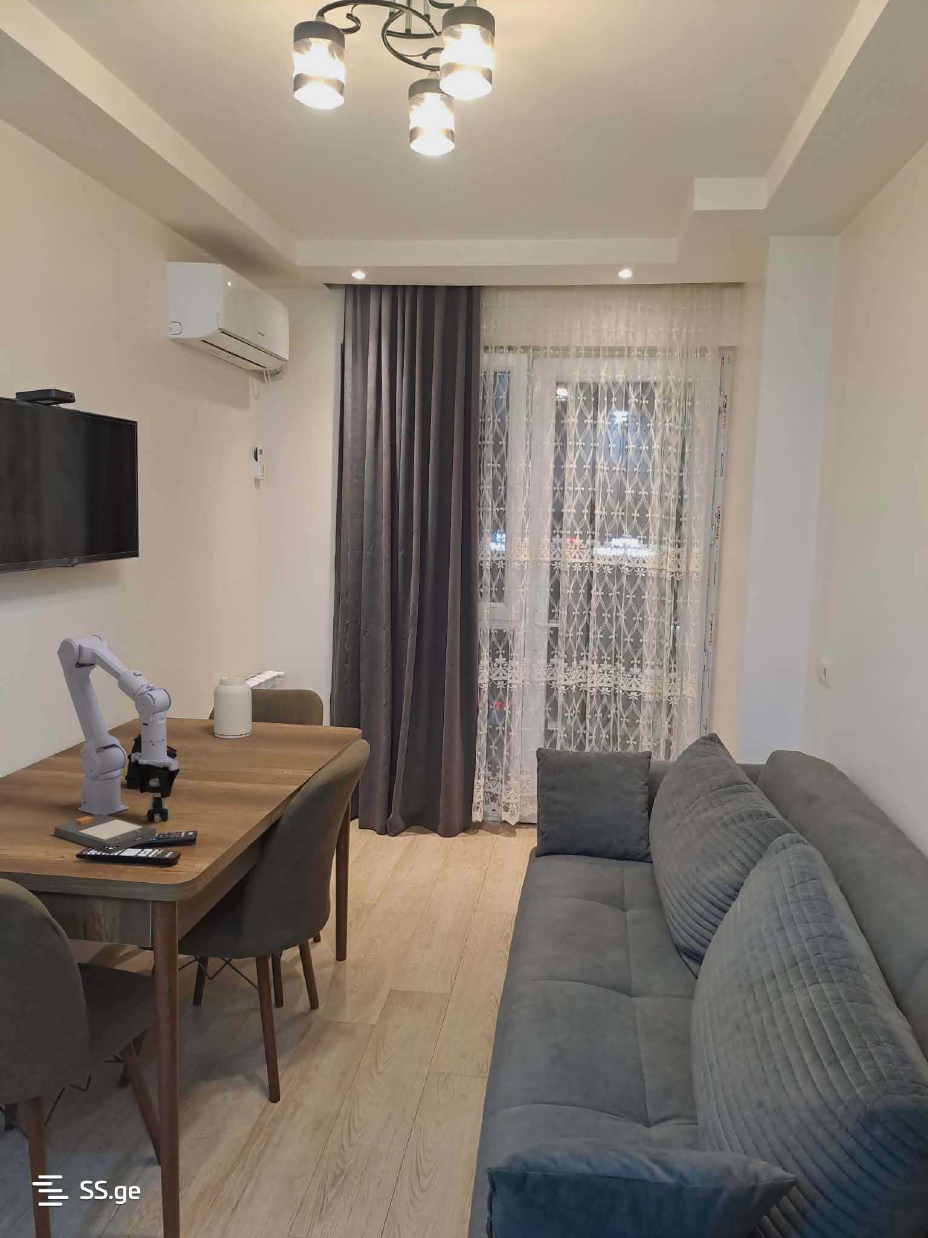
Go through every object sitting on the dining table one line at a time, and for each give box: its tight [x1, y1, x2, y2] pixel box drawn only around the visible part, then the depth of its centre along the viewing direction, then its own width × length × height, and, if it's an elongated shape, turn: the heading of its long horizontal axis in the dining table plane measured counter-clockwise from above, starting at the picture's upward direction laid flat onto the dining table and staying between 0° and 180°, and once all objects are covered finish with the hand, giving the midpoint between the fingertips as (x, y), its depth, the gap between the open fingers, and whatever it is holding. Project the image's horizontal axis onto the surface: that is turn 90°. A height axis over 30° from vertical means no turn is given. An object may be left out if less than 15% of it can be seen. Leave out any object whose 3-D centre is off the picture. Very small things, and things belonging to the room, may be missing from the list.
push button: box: [140, 778, 169, 823], centre depth 215 cm, size 7×5×10 cm
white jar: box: [213, 675, 253, 740], centre depth 303 cm, size 12×12×20 cm
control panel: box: [53, 813, 157, 854], centre depth 203 cm, size 20×12×3 cm, turn 59°
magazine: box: [124, 733, 178, 790], centre depth 240 cm, size 4×13×15 cm, turn 84°
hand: (155, 794), depth 214 cm, fingers open, 7 cm apart
